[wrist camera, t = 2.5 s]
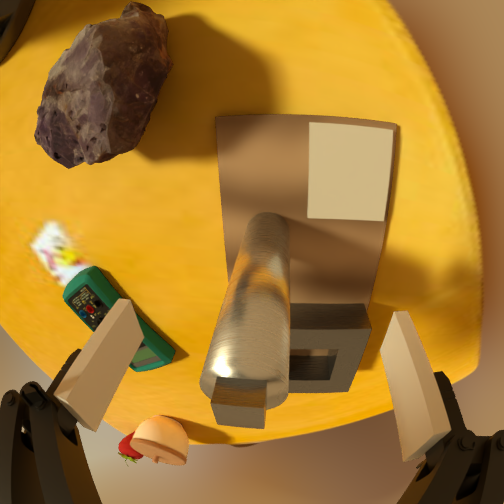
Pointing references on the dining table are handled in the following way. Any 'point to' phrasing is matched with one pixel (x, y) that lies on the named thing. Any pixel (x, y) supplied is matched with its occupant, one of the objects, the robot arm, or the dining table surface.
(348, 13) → the dining table surface
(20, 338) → the dining table surface
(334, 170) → the pad
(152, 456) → the lidded jar
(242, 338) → the silver metal post
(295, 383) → the block
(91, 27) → the rock
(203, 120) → the dining table surface
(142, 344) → the digital multimeter
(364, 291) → the board
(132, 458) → the strawberry
